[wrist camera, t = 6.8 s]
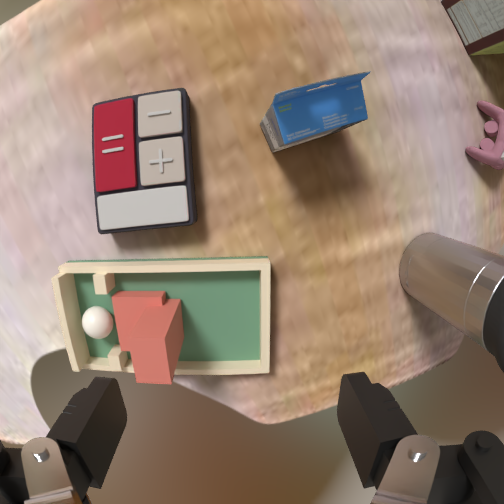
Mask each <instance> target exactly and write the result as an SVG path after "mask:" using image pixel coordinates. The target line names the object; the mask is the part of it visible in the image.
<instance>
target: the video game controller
mask: <svg viewBox="0 0 504 504" xmlns="http://www.w3.org/2000/svg"><path fill="white" fill-rule="evenodd" d="M477 106H478V107H479V109H480V110H482V111H483V112H484V113H485V114H487V115H488V116H490V117H491V118H493V119H494V120H492V121H488V122H486V123H485V126H484V127H485V131H486V133H487V134H488V135H489V136H490V137H495V136H497V138H496V142H495V144H494V142H493V141H492V140H491V139H489V138H484V139H483V140H482V141H481V143H480V147H481V149H482V150H481V149H479V148H476V147H471V146H470V147H466V152H467V154H468V155H469V156H471V157H472V158H474V159H476V160H477V161H480V162H482V163H484V164H487V165H490V166H492V167H493V168H494V169H497V170H500V169H503V168H504V110H503V109H501V108H499V107H497V106H495V105H493V104H491V103H489V102H486V101H478V102H477Z"/></svg>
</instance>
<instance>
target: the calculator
mask: <svg viewBox="0 0 504 504" xmlns="http://www.w3.org/2000/svg"><path fill="white" fill-rule="evenodd" d="M92 153H93V178H94V193H95V206H96V217H97V227H98V232H99V233H100V234H108V233H117V232H127V231H136V230H146V229H156V228H166V227H177V226H187V225H192V224H194V223H195V222H196V221H197V210H196V199H195V187H194V178H193V163H192V147H191V129H190V109H189V96H188V94H187V92H186V90H185V89H184V88H177V89H169V90H163V91H156V92H150V93H144V94H138V95H133V96H128V97H122V98H118V99H113V100H108V101H104V102H99V103H96V104H94V105H93V108H92Z"/></svg>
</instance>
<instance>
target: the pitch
mask: <svg viewBox="0 0 504 504" xmlns="http://www.w3.org/2000/svg"><path fill="white" fill-rule="evenodd" d="M58 268H59V274H57V275H55V276H54V277H52V278H51V279H52V285H53V291H54V296H55V301H56V306H57V311H58V316H59V320H60V324H61V329H62V333H63V337H64V341H65V345H66V349H67V352H68V356H69V359H70V363H71V366H72V369H73V371H80V370H81V369H82V368H83V369H92V370H103V371H116V372H129V373H134V368H133V363H132V359H131V354H130V351H121V348H120V343H119V338H118V332H117V327H116V321H115V315H114V309H113V303H112V296H113V295H114V294H115V293H116V292H117V291H165V293H166V299H181V308H182V319H183V329H184V340H183V344H182V347H181V351H180V354H179V358H178V362H177V366H176V369H175V373H174V375H233V374H259V373H269V363H270V261H269V259H268V257H267V256H258V257H218V258H176V259H131V260H82V261H68V262H66V263H64V264H62V265H60V266H59V267H58ZM93 306H100V307H103V308H105V309H106V310H108V311H109V313H110V314H111V316H112V318H113V328H112V331H111V333H110V334H109V335H108V336H107V337H105V338H102V339H95V338H92V337H90V336H89V335H88V334H87V333H86V332H85V331H84V329H83V326H82V317H83V315H84V313H85V311H86V310H87V309H89V308H91V307H93Z"/></svg>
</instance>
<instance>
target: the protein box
mask: <svg viewBox="0 0 504 504" xmlns="http://www.w3.org/2000/svg"><path fill="white" fill-rule="evenodd" d="M441 3H442V4H443V6H444V8H445V10H446V11H447V13H448V15H449V17H450V18H451V20H452V22H453V24H454V26H455V28H456V30H457V32H458V34H459V36H460V38H461V40H462V42H463V44H464V46H465V48H466V50H467V52H468V54H469V55H470V56H471V55H483V54H501V53H504V0H442V1H441Z"/></svg>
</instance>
